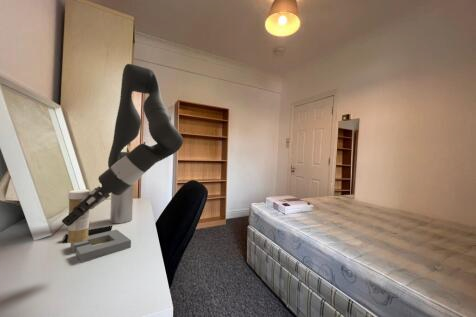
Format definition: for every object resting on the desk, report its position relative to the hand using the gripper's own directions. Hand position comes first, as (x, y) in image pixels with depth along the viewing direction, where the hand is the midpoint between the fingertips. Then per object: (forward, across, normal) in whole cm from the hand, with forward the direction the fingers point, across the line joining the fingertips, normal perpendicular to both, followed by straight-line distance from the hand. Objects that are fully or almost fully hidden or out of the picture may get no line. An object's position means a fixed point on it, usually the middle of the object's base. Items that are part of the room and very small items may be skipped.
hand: (70, 220), depth 52 cm
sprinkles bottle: (+3, 0, +6) cm, 6 cm away
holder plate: (+8, -15, +13) cm, 22 cm away
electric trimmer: (+14, -27, +8) cm, 32 cm away
